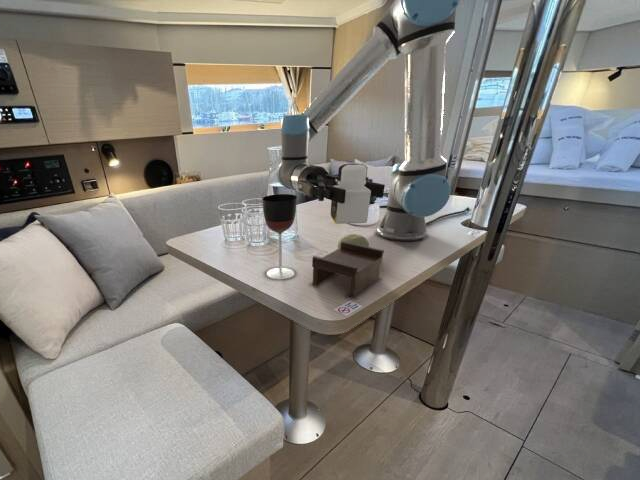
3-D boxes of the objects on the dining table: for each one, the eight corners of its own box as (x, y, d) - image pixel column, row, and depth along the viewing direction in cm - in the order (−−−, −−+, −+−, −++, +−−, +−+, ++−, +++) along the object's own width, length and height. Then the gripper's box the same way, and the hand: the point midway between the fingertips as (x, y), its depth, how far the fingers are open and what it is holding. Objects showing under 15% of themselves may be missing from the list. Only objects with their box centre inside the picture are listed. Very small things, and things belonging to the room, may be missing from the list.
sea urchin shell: (349, 253, 91) (341, 228, 93) (338, 264, 98) (331, 241, 100) (377, 248, 93) (368, 224, 95) (364, 259, 100) (356, 237, 102)
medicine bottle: (330, 215, 77) (333, 163, 71) (359, 215, 77) (365, 161, 71) (335, 224, 71) (339, 166, 65) (367, 223, 71) (374, 165, 65)
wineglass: (258, 274, 86) (255, 199, 76) (280, 264, 91) (279, 192, 81) (280, 282, 81) (279, 203, 71) (302, 272, 86) (303, 196, 76)
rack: (340, 267, 87) (342, 241, 84) (379, 277, 80) (383, 250, 77) (311, 285, 79) (312, 257, 75) (352, 298, 72) (355, 268, 68)
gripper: (343, 190, 91) (401, 205, 72) (273, 199, 84) (317, 218, 66) (346, 161, 87) (407, 170, 68) (273, 169, 80) (319, 180, 62)
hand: (363, 194), depth 67 cm, fingers closed on medicine bottle, 9 cm apart
